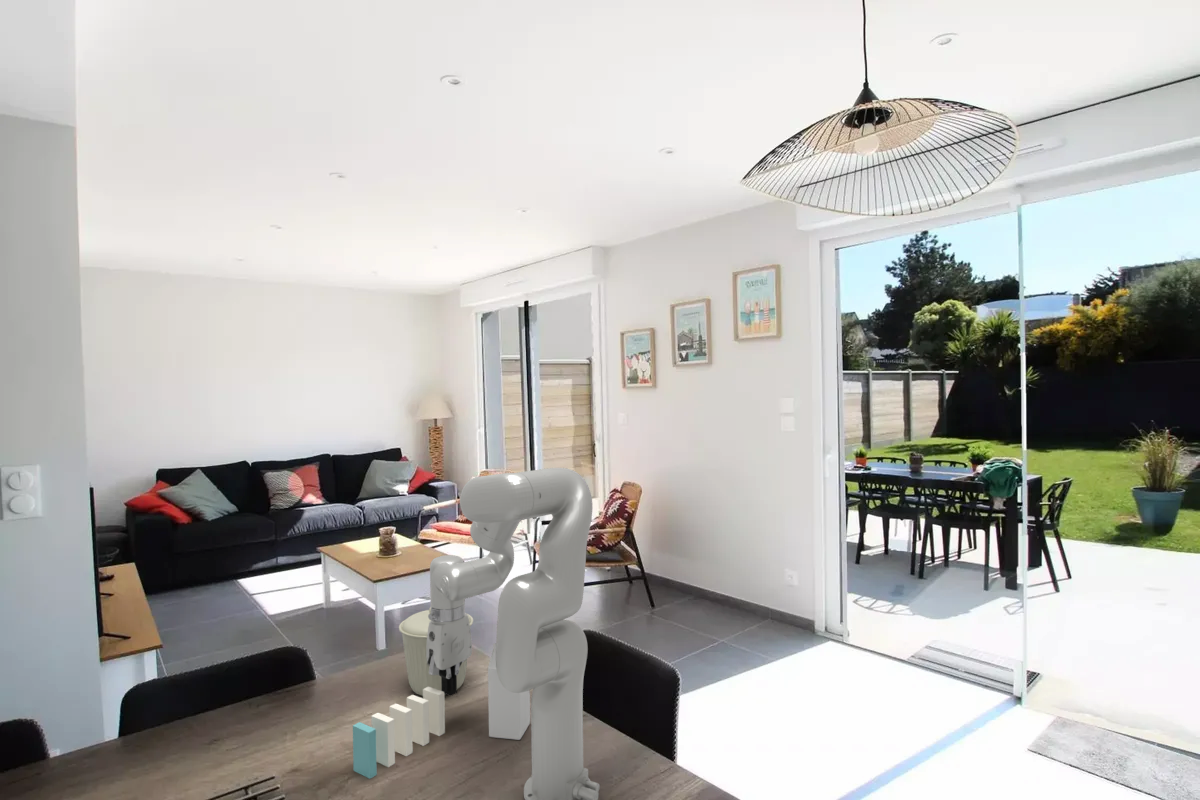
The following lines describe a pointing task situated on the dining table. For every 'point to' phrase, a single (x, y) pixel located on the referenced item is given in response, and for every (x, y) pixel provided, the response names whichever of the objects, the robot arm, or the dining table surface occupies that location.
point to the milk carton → (506, 706)
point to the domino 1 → (364, 750)
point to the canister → (422, 653)
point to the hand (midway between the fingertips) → (449, 692)
